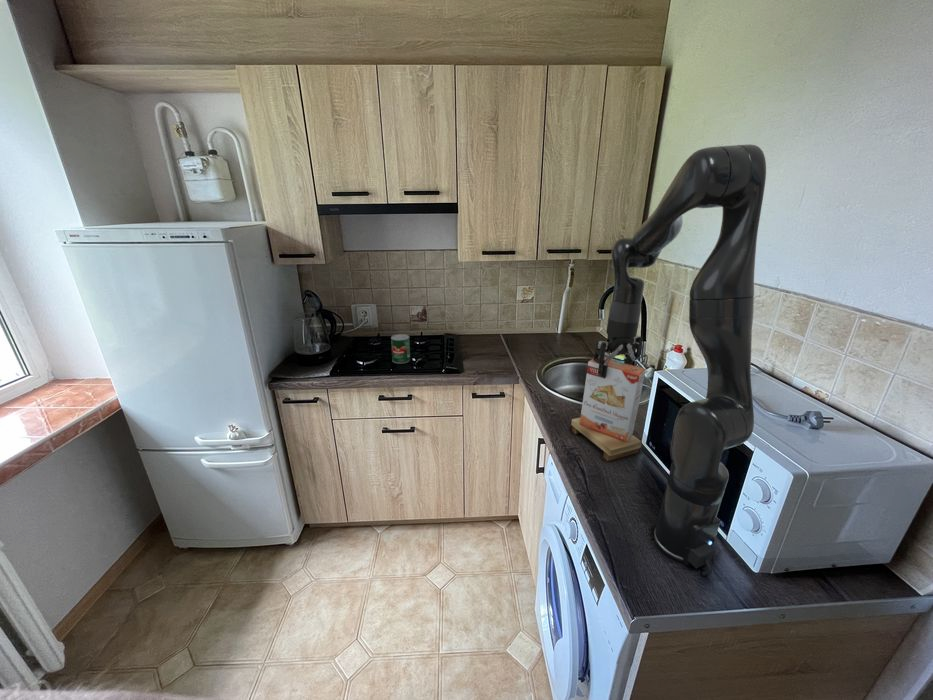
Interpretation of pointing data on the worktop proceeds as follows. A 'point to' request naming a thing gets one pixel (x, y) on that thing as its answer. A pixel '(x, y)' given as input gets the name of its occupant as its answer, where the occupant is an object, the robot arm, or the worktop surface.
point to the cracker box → (612, 399)
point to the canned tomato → (400, 348)
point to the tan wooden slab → (608, 442)
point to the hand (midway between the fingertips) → (614, 374)
